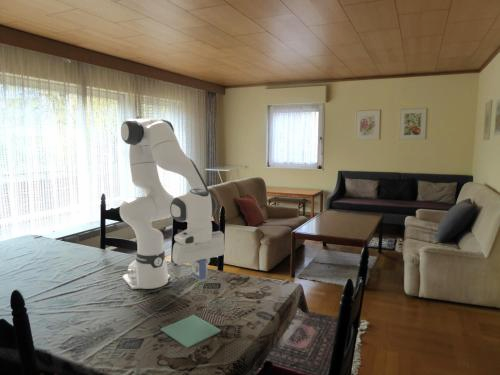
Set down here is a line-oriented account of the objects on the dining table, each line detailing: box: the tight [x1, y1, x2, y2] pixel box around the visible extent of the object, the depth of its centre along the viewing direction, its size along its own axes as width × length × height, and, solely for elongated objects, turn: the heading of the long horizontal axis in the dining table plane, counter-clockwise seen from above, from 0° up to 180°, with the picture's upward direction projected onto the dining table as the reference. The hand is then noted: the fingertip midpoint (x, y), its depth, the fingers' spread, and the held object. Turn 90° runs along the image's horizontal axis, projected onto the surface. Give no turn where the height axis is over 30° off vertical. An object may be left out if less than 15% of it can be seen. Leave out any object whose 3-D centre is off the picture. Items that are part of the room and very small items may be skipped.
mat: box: [159, 314, 222, 349], centre depth 122 cm, size 15×14×1 cm
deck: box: [193, 259, 207, 280], centre depth 132 cm, size 4×2×7 cm, turn 38°
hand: (199, 271), depth 133 cm, fingers closed on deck, 2 cm apart
